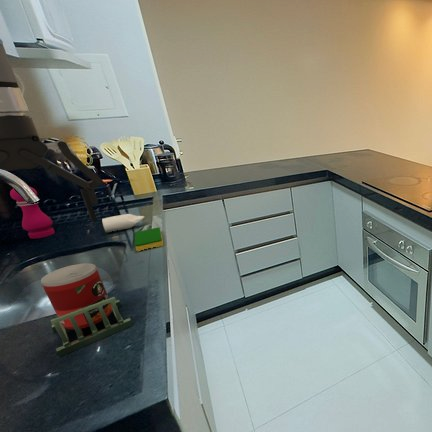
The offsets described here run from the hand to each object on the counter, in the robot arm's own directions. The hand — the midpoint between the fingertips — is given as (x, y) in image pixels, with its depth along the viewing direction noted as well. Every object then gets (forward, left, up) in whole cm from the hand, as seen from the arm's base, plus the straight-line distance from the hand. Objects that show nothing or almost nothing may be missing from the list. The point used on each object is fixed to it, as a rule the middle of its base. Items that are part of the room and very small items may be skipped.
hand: (47, 229), depth 57 cm
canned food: (+3, -2, -19) cm, 20 cm away
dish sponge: (-15, +39, -22) cm, 48 cm away
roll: (-33, +52, -22) cm, 65 cm away
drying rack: (+4, -3, -22) cm, 22 cm away
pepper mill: (-59, +46, -22) cm, 78 cm away
